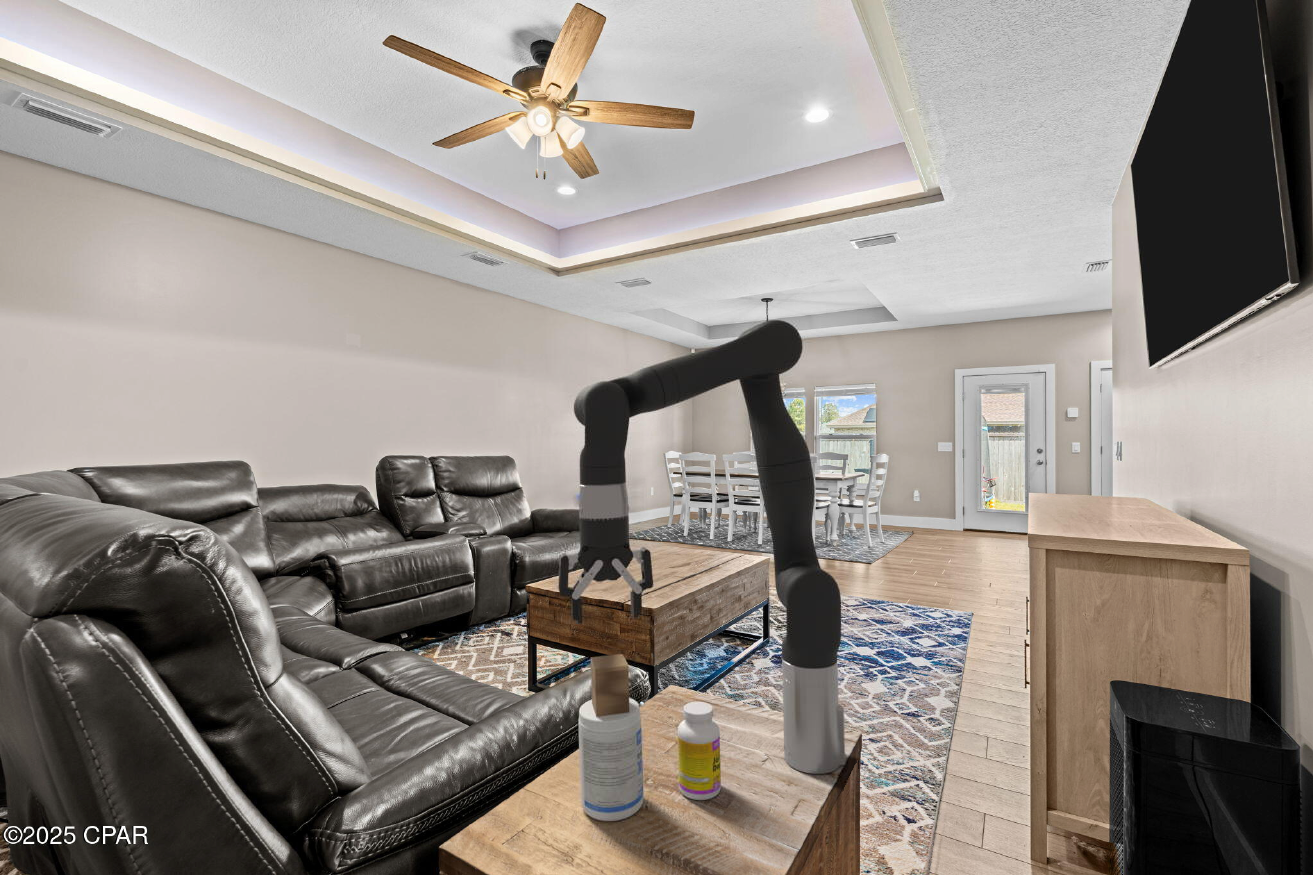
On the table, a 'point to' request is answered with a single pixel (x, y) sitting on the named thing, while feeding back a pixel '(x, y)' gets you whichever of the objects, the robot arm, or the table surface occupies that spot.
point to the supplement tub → (610, 762)
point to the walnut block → (610, 685)
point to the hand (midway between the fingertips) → (607, 619)
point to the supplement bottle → (699, 752)
